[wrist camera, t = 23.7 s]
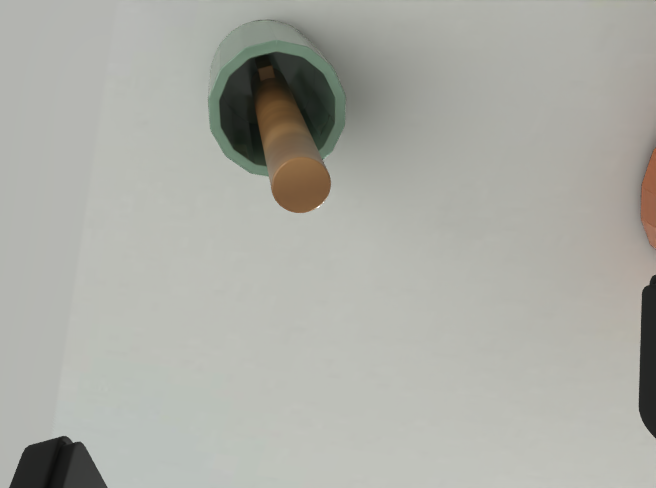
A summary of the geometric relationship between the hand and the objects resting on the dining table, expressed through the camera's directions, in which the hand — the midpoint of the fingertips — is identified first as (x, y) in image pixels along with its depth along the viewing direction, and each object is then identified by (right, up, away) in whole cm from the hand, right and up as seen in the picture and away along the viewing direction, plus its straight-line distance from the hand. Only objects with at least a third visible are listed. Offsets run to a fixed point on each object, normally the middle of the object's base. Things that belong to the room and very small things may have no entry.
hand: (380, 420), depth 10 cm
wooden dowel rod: (-4, +12, +25) cm, 28 cm away
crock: (-4, +12, +25) cm, 28 cm away
